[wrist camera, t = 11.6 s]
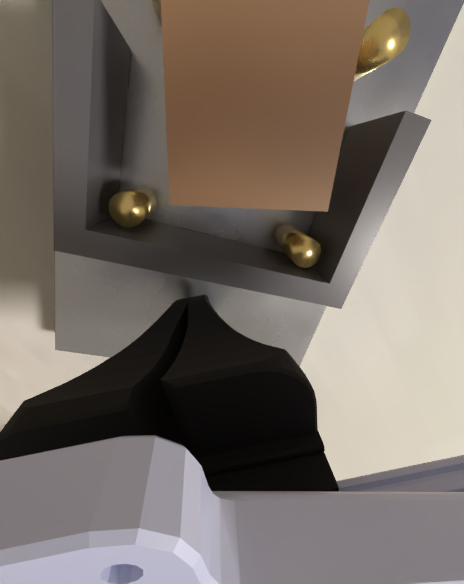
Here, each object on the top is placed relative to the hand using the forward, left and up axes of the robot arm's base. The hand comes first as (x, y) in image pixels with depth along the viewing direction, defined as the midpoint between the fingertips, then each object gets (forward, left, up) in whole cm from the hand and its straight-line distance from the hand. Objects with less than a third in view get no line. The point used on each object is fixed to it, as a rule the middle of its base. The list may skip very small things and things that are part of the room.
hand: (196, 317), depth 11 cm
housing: (-5, 0, -1) cm, 6 cm away
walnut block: (-7, 0, -1) cm, 7 cm away
